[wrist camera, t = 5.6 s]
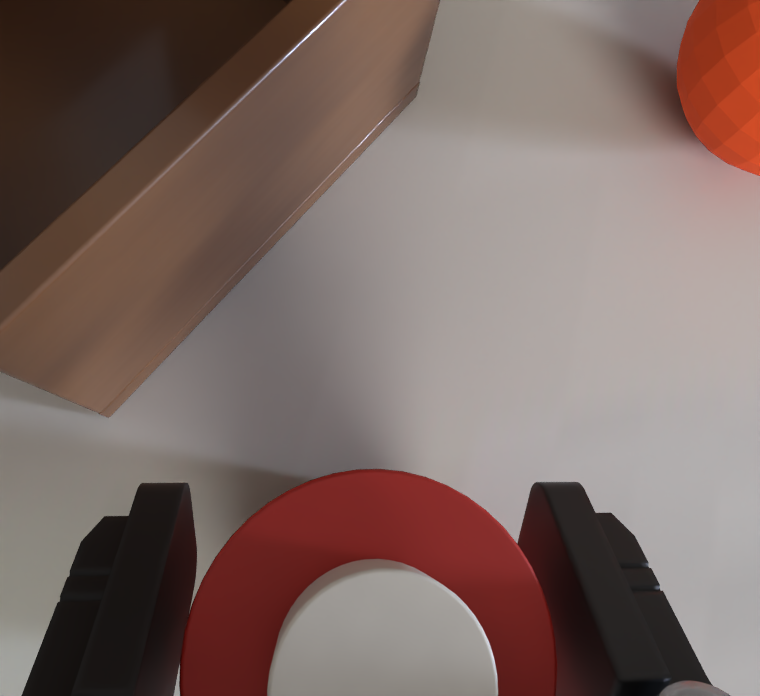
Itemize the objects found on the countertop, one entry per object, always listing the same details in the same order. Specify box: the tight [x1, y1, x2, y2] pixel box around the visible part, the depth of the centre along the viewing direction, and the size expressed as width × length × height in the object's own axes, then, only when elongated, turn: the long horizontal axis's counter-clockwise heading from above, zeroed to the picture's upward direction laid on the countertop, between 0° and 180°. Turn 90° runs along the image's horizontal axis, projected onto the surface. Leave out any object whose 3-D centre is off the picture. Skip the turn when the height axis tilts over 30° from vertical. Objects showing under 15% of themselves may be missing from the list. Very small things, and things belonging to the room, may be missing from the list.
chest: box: [0, 0, 440, 418], centre depth 17 cm, size 14×13×8 cm
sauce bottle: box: [179, 469, 557, 696], centre depth 13 cm, size 5×5×11 cm
